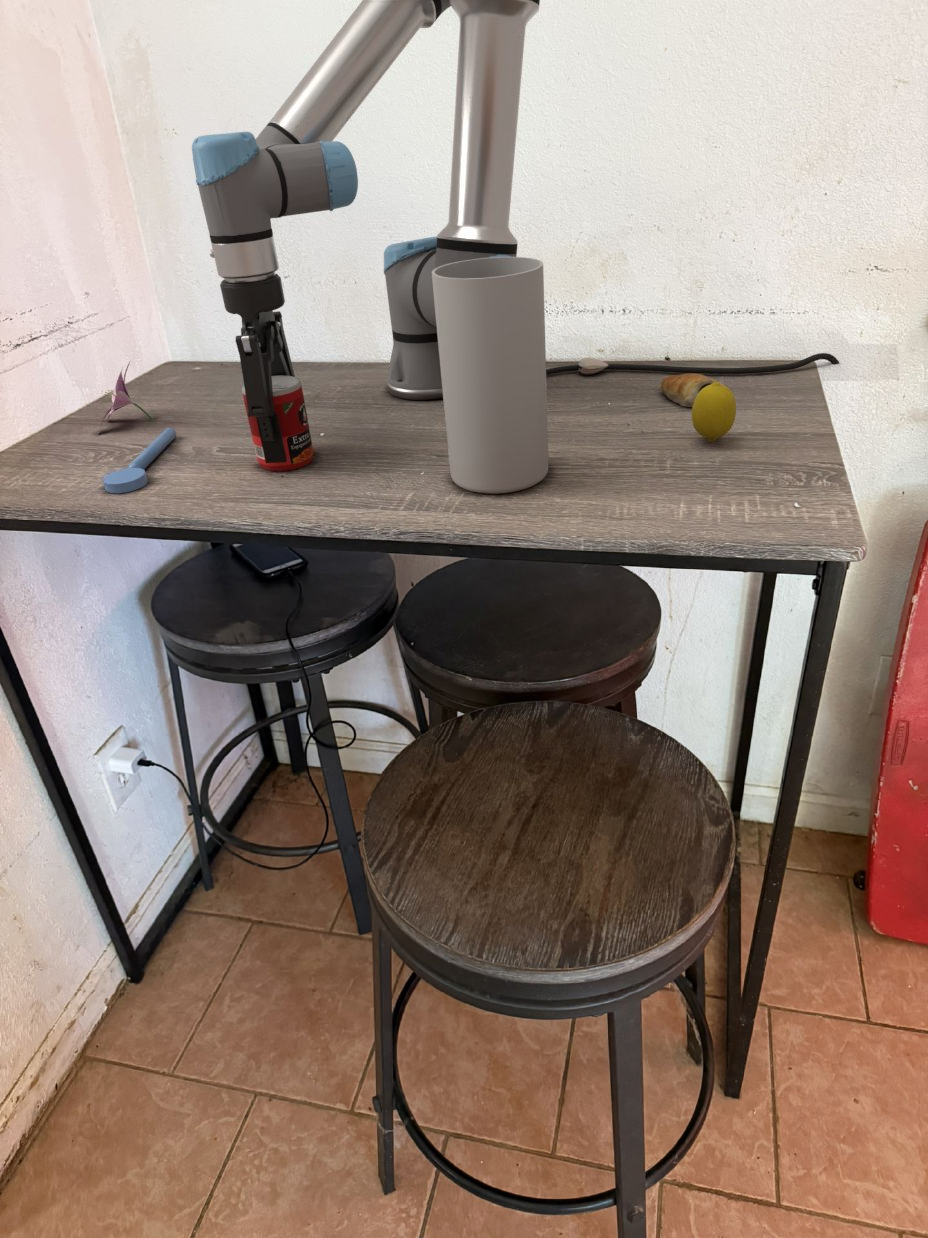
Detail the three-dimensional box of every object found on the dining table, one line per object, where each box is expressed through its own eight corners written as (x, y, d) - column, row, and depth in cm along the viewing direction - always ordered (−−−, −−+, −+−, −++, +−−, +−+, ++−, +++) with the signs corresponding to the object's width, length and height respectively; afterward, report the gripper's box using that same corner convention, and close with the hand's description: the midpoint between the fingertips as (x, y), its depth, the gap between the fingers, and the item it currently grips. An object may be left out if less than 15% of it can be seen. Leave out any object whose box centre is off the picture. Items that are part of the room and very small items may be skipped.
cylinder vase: (518, 502, 100) (508, 280, 87) (432, 486, 106) (409, 277, 93) (565, 464, 109) (562, 257, 96) (482, 452, 115) (469, 255, 102)
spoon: (156, 437, 131) (153, 426, 130) (191, 436, 130) (188, 424, 129) (98, 494, 113) (94, 482, 112) (138, 492, 112) (134, 479, 111)
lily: (136, 413, 146) (92, 370, 140) (182, 388, 140) (139, 342, 134) (108, 458, 138) (60, 415, 132) (156, 434, 133) (108, 387, 127)
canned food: (303, 472, 114) (288, 391, 108) (249, 471, 115) (231, 392, 110) (322, 451, 120) (309, 374, 114) (270, 451, 122) (254, 375, 116)
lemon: (734, 435, 113) (740, 375, 109) (731, 450, 109) (737, 389, 104) (692, 433, 115) (696, 374, 111) (687, 448, 110) (691, 387, 106)
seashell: (578, 370, 144) (578, 355, 142) (608, 368, 143) (608, 353, 142) (578, 377, 140) (578, 362, 139) (608, 376, 139) (608, 361, 138)
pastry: (648, 394, 130) (649, 369, 128) (682, 385, 132) (684, 361, 130) (689, 409, 123) (691, 383, 121) (725, 400, 125) (727, 374, 123)
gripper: (243, 262, 114) (276, 424, 126) (192, 296, 96) (236, 480, 108) (297, 258, 113) (325, 421, 125) (256, 291, 95) (293, 477, 108)
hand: (284, 449), depth 117 cm, fingers open, 8 cm apart
